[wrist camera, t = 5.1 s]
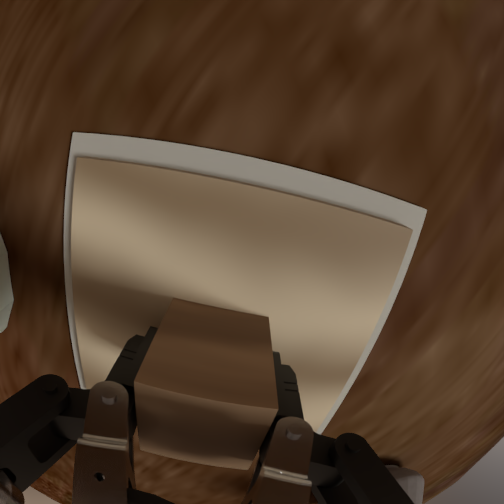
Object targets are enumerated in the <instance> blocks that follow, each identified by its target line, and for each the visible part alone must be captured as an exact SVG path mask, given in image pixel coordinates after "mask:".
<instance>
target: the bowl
mask: <svg viewBox="0 0 504 504" xmlns="http://www.w3.org/2000/svg"><path fill="white" fill-rule="evenodd" d="M13 301H14V298H13V292H12V286H11V279H10V272H9V263H8V253H7V250H6V247H5V245H4V242H3V239H2V236H1V234H0V333H1V332H2V331H3V330H4V329H5V328H6V327H7V324H8V320H9V316H10V312H11V308H12V305H13Z"/></svg>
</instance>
